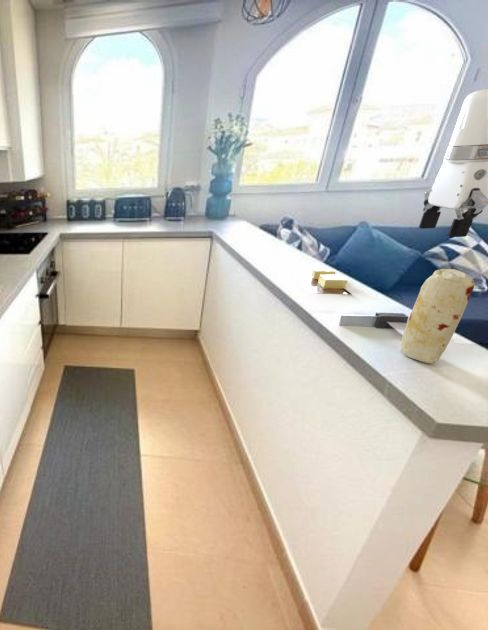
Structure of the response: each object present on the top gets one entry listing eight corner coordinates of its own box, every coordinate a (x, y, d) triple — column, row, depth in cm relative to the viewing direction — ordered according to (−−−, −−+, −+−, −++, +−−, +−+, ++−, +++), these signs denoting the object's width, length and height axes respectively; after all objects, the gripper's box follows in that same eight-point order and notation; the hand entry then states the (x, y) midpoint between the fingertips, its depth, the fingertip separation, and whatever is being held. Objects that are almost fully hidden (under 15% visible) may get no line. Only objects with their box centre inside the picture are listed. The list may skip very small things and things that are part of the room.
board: (335, 281, 120) (336, 276, 120) (357, 298, 106) (359, 294, 106) (290, 280, 124) (291, 276, 123) (306, 297, 110) (307, 293, 109)
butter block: (338, 283, 115) (340, 274, 113) (345, 288, 110) (347, 280, 109) (317, 282, 116) (319, 274, 115) (323, 288, 112) (326, 279, 110)
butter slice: (331, 277, 119) (333, 269, 118) (333, 279, 118) (335, 271, 116) (311, 277, 121) (313, 269, 120) (313, 279, 119) (315, 271, 118)
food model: (449, 369, 73) (493, 281, 65) (410, 365, 75) (447, 279, 67) (423, 345, 81) (459, 265, 73) (388, 343, 84) (419, 264, 75)
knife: (340, 326, 92) (344, 314, 91) (337, 322, 94) (340, 311, 92) (403, 329, 89) (408, 317, 87) (398, 325, 91) (403, 313, 89)
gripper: (529, 153, 67) (491, 240, 74) (460, 152, 82) (434, 224, 89) (481, 156, 69) (448, 241, 76) (422, 155, 84) (399, 225, 91)
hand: (440, 232), depth 83 cm, fingers open, 9 cm apart
